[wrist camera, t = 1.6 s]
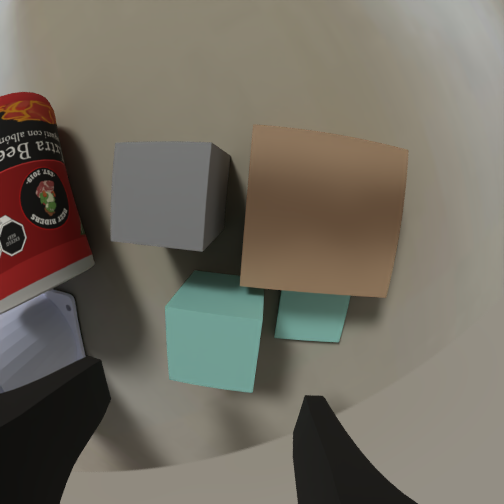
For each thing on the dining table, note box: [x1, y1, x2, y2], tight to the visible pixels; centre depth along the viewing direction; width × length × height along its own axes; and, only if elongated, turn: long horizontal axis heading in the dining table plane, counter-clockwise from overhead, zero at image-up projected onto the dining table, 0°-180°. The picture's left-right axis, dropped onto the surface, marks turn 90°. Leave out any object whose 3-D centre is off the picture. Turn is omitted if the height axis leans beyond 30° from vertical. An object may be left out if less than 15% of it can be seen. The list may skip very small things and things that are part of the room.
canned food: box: [0, 92, 95, 315], centre depth 11 cm, size 8×8×11 cm
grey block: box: [111, 142, 230, 252], centre depth 12 cm, size 4×4×5 cm
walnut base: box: [240, 125, 408, 298], centre depth 13 cm, size 7×7×4 cm
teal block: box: [165, 270, 264, 393], centre depth 14 cm, size 4×4×5 cm
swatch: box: [274, 290, 350, 342], centre depth 16 cm, size 4×4×1 cm
